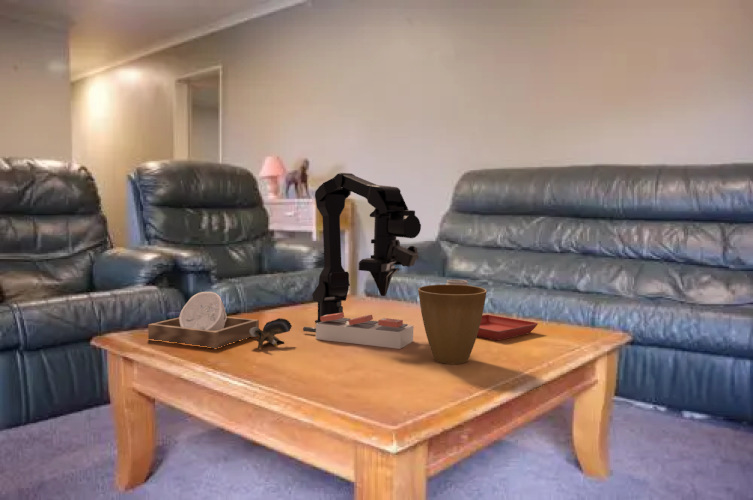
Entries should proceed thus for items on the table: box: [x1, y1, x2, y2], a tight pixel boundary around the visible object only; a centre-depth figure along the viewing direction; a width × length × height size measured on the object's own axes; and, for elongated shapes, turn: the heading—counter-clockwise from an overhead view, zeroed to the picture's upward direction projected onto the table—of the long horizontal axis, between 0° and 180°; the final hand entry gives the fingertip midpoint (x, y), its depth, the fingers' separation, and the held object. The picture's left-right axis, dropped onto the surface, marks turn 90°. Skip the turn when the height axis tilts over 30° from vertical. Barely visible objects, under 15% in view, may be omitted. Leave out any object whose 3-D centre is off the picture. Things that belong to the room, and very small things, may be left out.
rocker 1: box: [320, 311, 345, 322], centre depth 149 cm, size 5×4×1 cm
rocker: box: [348, 314, 374, 325], centre depth 146 cm, size 5×4×1 cm
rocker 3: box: [377, 317, 404, 328], centre depth 143 cm, size 5×4×1 cm
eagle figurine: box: [250, 317, 293, 349], centre depth 141 cm, size 8×7×9 cm
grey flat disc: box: [178, 291, 228, 331], centre depth 149 cm, size 10×14×12 cm
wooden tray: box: [147, 316, 260, 349], centre depth 148 cm, size 20×17×4 cm
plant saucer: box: [477, 314, 539, 341], centre depth 161 cm, size 18×18×3 cm
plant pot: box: [417, 283, 488, 365], centre depth 129 cm, size 15×15×16 cm
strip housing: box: [302, 317, 414, 350], centre depth 150 cm, size 29×9×4 cm, turn 67°
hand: (383, 295), depth 152 cm, fingers closed
